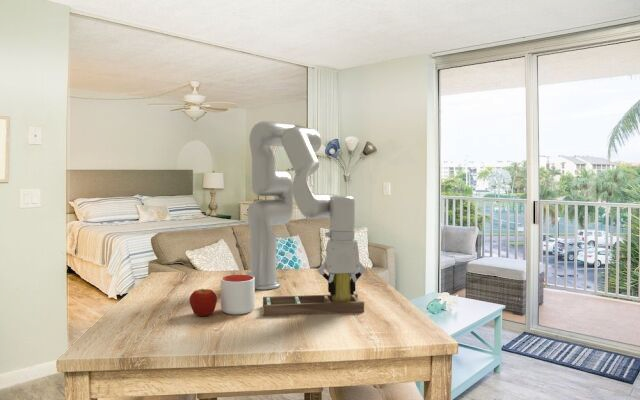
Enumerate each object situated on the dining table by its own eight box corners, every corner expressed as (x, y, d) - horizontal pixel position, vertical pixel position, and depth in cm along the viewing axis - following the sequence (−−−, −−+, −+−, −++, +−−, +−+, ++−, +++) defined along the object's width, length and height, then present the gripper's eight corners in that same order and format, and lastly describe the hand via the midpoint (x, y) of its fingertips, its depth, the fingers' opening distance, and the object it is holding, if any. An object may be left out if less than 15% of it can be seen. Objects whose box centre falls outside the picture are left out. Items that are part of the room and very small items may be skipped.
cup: (260, 307, 145) (260, 275, 144) (244, 317, 135) (244, 283, 135) (231, 304, 148) (231, 273, 147) (214, 313, 138) (214, 280, 138)
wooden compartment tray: (262, 306, 146) (262, 296, 146) (356, 302, 150) (356, 293, 150) (263, 315, 136) (263, 305, 136) (364, 311, 141) (364, 302, 141)
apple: (193, 320, 132) (192, 293, 132) (187, 313, 139) (186, 287, 138) (220, 316, 136) (219, 290, 135) (213, 309, 143) (212, 284, 142)
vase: (350, 311, 141) (350, 264, 140) (330, 310, 142) (330, 263, 141) (352, 305, 147) (353, 260, 146) (333, 304, 148) (333, 260, 147)
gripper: (316, 238, 138) (315, 298, 139) (372, 237, 141) (371, 296, 142) (312, 234, 146) (312, 292, 147) (366, 233, 148) (365, 290, 149)
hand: (341, 293), depth 144 cm, fingers closed on vase, 5 cm apart
